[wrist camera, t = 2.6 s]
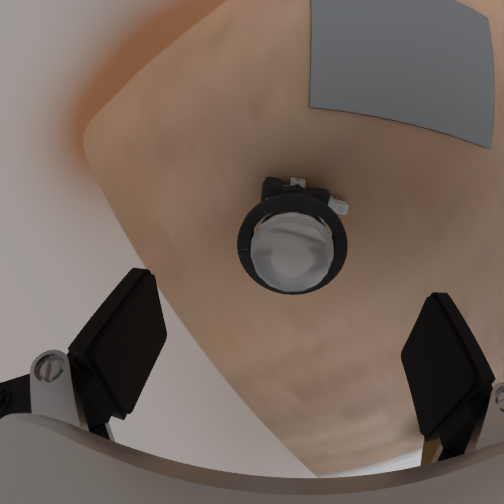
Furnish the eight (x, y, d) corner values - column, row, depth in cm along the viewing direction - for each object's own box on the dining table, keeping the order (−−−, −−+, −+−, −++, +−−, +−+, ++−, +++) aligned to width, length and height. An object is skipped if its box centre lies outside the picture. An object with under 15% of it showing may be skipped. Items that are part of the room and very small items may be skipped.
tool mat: (483, 19, 10) (487, 17, 9) (485, 147, 16) (490, 149, 15) (309, -34, 12) (309, -39, 11) (309, 107, 18) (309, 106, 17)
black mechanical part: (351, 172, 20) (392, 220, 11) (337, 235, 22) (357, 316, 13) (264, 157, 20) (237, 193, 11) (256, 222, 23) (229, 296, 14)
